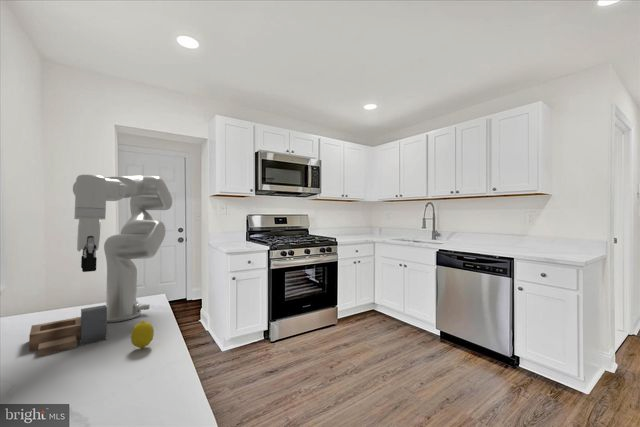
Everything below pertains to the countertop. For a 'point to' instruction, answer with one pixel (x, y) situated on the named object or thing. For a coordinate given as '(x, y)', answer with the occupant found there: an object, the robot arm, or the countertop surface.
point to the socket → (55, 336)
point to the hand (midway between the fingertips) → (88, 269)
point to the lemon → (142, 334)
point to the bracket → (93, 324)
